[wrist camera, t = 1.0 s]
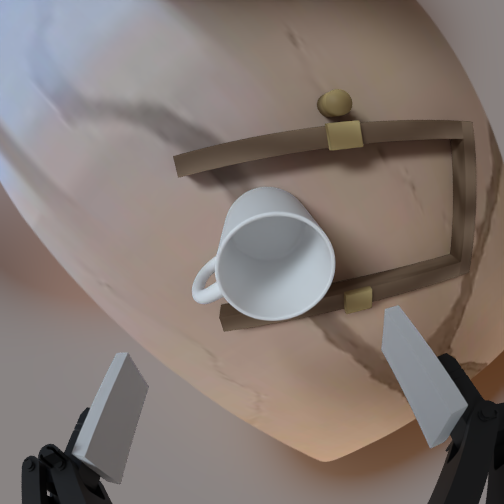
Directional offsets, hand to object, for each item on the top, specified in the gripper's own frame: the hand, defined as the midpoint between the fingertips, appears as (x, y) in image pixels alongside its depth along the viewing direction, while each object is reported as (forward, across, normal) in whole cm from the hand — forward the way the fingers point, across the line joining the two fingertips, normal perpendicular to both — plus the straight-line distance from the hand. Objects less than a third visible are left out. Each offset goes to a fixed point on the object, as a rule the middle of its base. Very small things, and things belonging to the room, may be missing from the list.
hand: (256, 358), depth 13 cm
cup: (+17, 0, 0) cm, 17 cm away
